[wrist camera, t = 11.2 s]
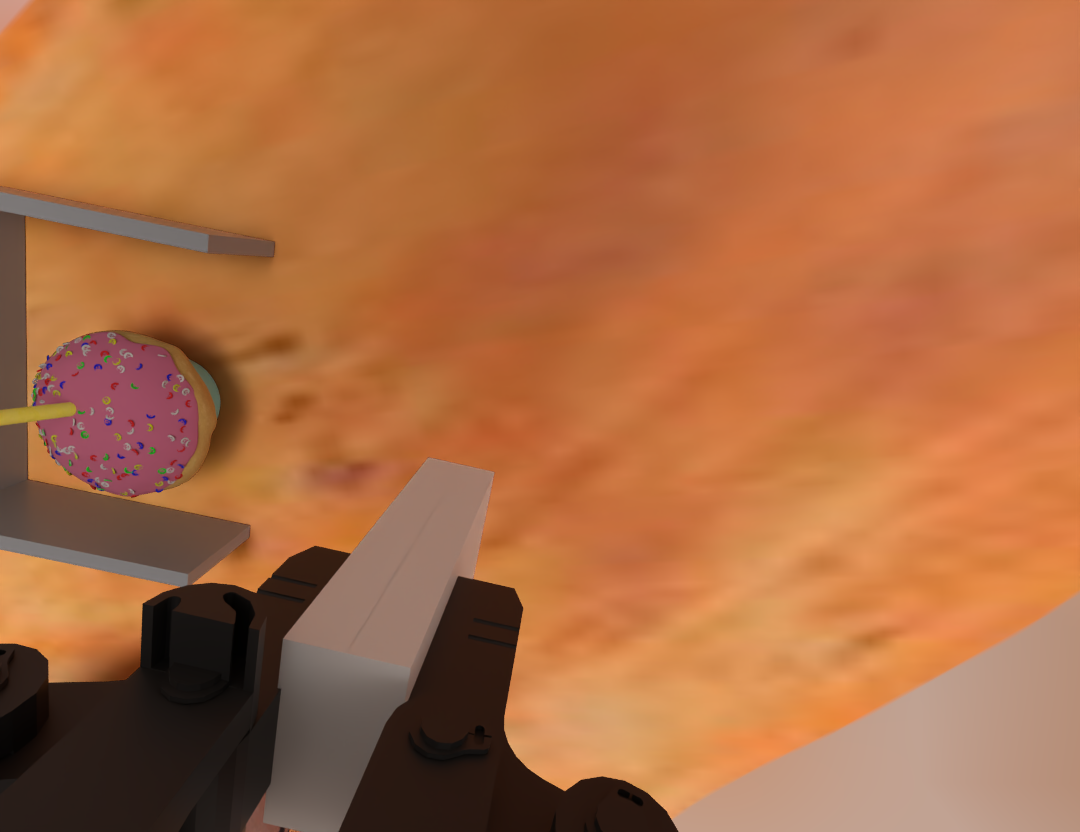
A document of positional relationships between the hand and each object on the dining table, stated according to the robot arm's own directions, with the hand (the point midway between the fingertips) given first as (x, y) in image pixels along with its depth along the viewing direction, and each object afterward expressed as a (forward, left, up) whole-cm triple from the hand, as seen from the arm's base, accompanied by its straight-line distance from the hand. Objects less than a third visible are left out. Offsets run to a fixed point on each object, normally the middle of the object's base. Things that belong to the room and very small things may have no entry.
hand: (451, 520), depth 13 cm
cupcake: (+5, -19, -20) cm, 28 cm away
